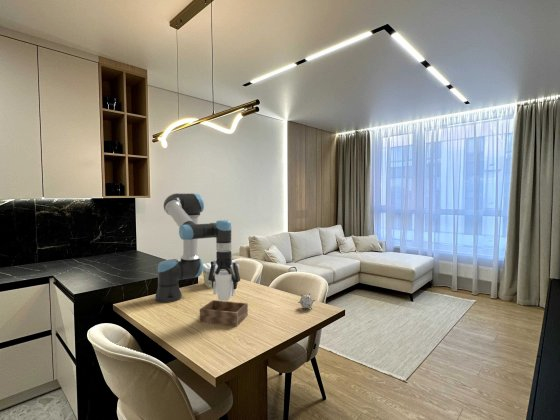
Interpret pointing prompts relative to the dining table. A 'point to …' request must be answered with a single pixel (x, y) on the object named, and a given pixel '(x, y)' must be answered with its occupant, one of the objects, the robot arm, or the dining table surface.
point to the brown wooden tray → (224, 313)
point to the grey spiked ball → (306, 301)
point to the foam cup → (223, 285)
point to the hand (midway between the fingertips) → (224, 294)
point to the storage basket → (206, 274)
